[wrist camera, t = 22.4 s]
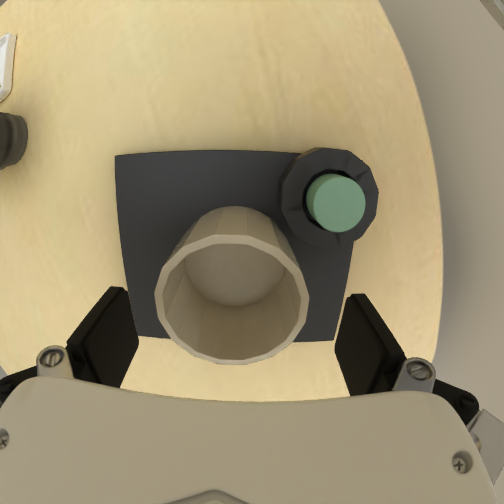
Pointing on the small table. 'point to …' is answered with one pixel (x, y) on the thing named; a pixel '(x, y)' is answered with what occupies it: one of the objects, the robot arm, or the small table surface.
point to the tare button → (335, 202)
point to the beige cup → (232, 288)
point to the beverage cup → (12, 139)
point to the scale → (236, 194)
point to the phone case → (6, 63)
